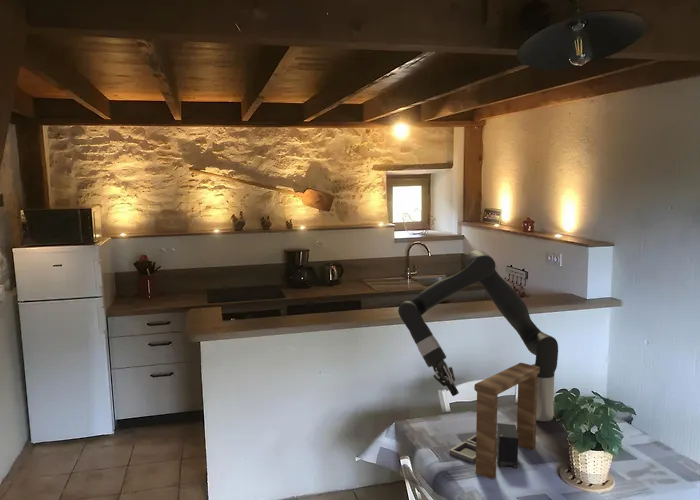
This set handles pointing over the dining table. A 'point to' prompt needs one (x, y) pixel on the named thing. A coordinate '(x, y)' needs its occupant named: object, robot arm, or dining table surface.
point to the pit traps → (466, 450)
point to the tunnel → (488, 413)
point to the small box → (507, 445)
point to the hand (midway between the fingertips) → (456, 394)
